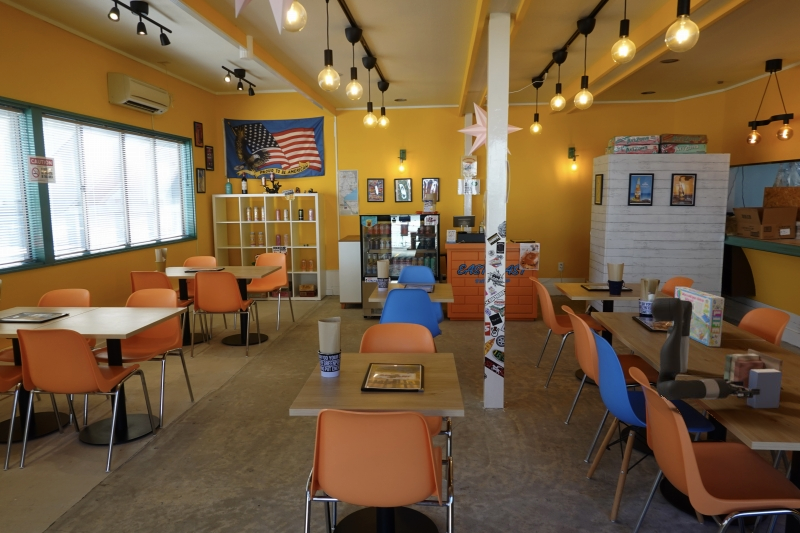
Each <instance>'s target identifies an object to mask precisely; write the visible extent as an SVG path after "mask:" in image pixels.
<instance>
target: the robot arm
mask: <svg viewBox="0 0 800 533" xmlns="http://www.w3.org/2000/svg"><path fill="white" fill-rule="evenodd" d="M650 312H651V315H652V317H653V319H654V320H655V321H656V322H673V321H674V325H673V324H672V325H671V326H668V327H667V330H666V332H667V333H666V340H665V341H664V342H663V344H662V346H661V348H660V351H659V368H660V369H659V373H658V377H657V382H656V391H657V394H658V396H659V397H660V398H661V397H662V396H663V397H665V398H666V399H667V400H666V401H673V400H675V401H676V400H687V399H690V400H701V399H702V400H720V399H721V400H722V399H727V398H728V397H729V395H730V396H736V398H738V399H747V398H753V395H760V389H747V388H744V387H743V381H734V382H733V381H732V380H730V381H729V379H724V378H703V379H702V378H701V379H692V380H691V379H690V380H684V379H683V380H682V379H681V380H680V379H676V377H677V376H678V375H679V374H684V373H687V372H688V362H689V349H690V348H689V347H690V323H691V316H692V303H691V301H686V300H681V299H679V298H675V297H659V298H655V299H654V300H652V302H651V306H650ZM740 388H741V389H742V391H741V390H740ZM744 390H747V391H744ZM661 395H662V396H661Z"/></svg>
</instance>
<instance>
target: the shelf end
mask: <svg viewBox="0 0 800 533" xmlns="http://www.w3.org/2000/svg"><path fill="white" fill-rule="evenodd" d="M783 363H784V362H783V360H782V359H780V358H777V357H774V356H771V355H768V354H766V353H763V352H760V351H758V350H756V349H752V348H748V349H747V353H733V354H726V355H725V361H724V375H723V379H729V381H730V380H732V381H733V382H734V381H743V387H744V388H747V389H748V386H749V375H750V370H751V369H775V370H778V371H780V372H782V370H783ZM782 373H783V372H782ZM740 390H741V391H742V389H741V388H740ZM744 391H747V390H744ZM780 401H781V400H780V399H779V402H780Z"/></svg>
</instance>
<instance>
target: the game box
mask: <svg viewBox="0 0 800 533" xmlns="http://www.w3.org/2000/svg"><path fill="white" fill-rule="evenodd" d="M674 298H679V299H681V300H686V301H691V303H692V316H691V323H690V337H689V339H692V340H694V341H696V342H698V343H701V344H703V345H705V346H707V347H721V340H722V339H721V338H722V330H723V329H722V328H723V318H724V308H725V297H722V296H718V295H717V294H716V295H714V294H711V293H708V292H705V291H701V290H698V289H694V288H691V287H687V286H675V289H674ZM673 325H674V321H672V326H673Z"/></svg>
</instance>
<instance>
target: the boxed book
mask: <svg viewBox="0 0 800 533" xmlns="http://www.w3.org/2000/svg"><path fill="white" fill-rule="evenodd" d="M782 376H783V372H780V371H778V370H775V369H751V370H750V375H749V386H748V389H760V395H753V398H746V405H747V406H749V407H751V408H753V409H773V408H777V409H778V408H779V405H780V401H779V400H780V398H781V396H780V395H781V387H782Z"/></svg>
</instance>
